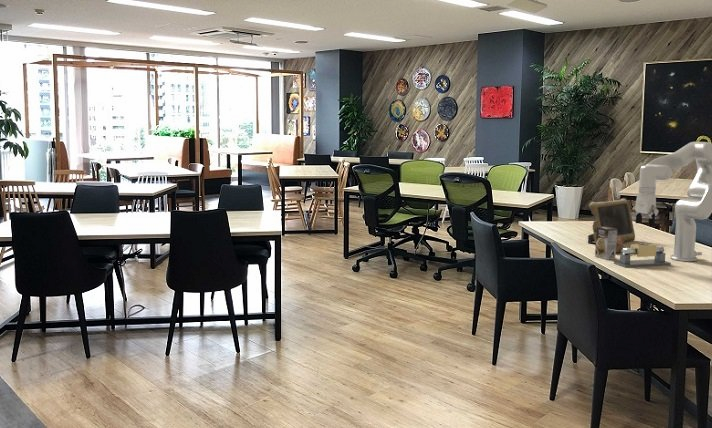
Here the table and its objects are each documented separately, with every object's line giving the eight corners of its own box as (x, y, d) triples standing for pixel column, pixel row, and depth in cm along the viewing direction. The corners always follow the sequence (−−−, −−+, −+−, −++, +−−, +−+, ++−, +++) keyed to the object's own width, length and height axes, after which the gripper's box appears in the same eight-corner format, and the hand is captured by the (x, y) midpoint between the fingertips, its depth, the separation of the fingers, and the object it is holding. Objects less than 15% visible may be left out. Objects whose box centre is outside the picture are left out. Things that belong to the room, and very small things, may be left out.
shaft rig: (658, 261, 338) (659, 245, 337) (670, 265, 330) (671, 248, 328) (613, 263, 333) (614, 247, 331) (624, 267, 324) (626, 250, 323)
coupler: (638, 257, 326) (638, 245, 326) (630, 255, 332) (630, 243, 332) (655, 256, 328) (656, 244, 328) (647, 254, 334) (648, 242, 334)
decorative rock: (602, 248, 371) (603, 231, 370) (623, 250, 367) (624, 232, 366) (601, 253, 359) (602, 235, 358) (623, 254, 355) (624, 236, 354)
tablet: (605, 247, 375) (608, 203, 372) (584, 243, 386) (586, 201, 383) (636, 241, 395) (639, 199, 391) (615, 237, 406) (617, 197, 402)
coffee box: (594, 256, 350) (596, 226, 347) (604, 255, 352) (606, 226, 349) (605, 260, 341) (607, 229, 339) (616, 259, 343) (617, 228, 341)
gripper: (629, 189, 333) (627, 222, 336) (651, 192, 317) (649, 227, 319) (642, 188, 335) (640, 221, 337) (665, 192, 318) (663, 227, 321)
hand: (644, 224), depth 328 cm, fingers open, 9 cm apart
